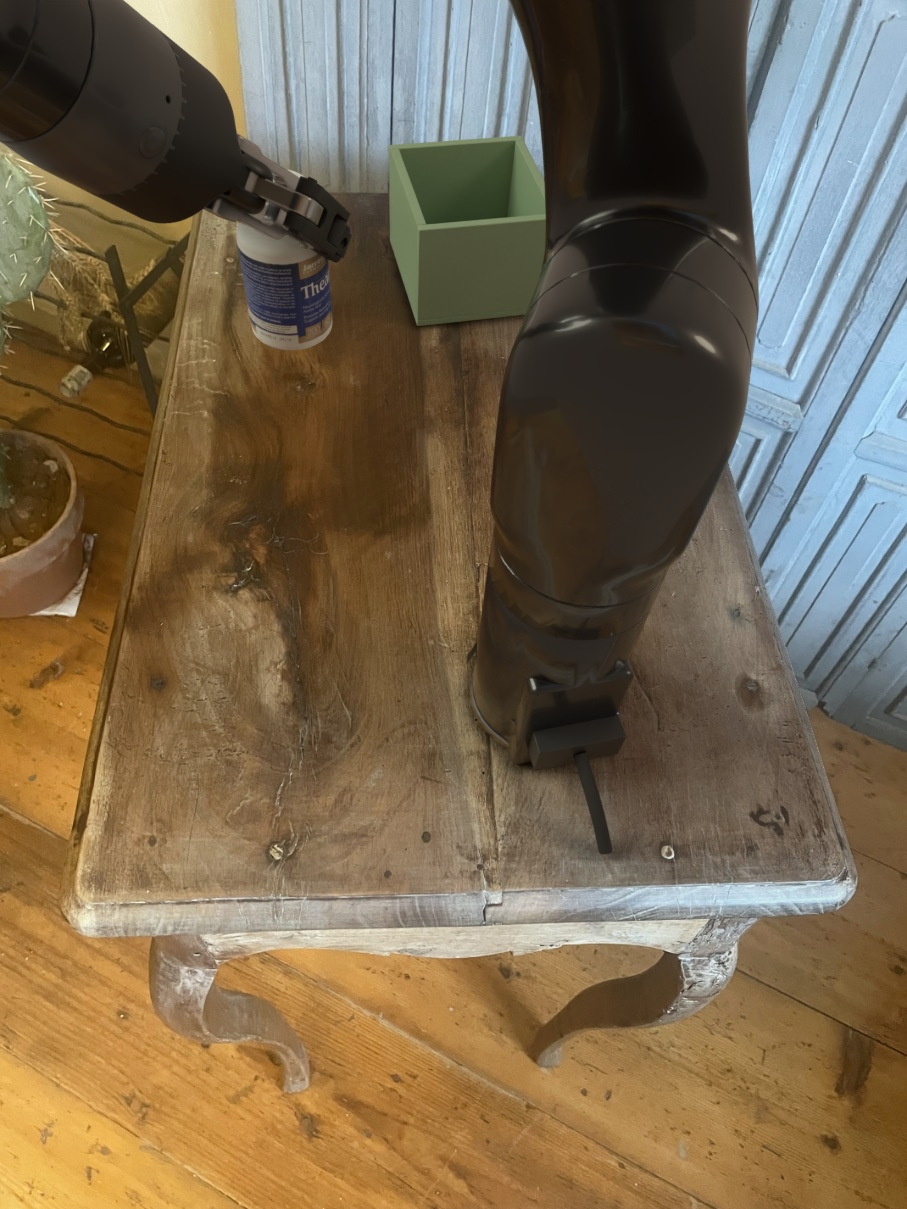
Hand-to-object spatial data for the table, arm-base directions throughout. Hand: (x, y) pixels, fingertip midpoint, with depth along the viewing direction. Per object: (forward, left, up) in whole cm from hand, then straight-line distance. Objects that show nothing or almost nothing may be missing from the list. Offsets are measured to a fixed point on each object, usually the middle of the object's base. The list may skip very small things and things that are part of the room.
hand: (300, 227), depth 53 cm
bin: (+22, -17, -20) cm, 34 cm away
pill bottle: (-1, +1, -6) cm, 7 cm away
